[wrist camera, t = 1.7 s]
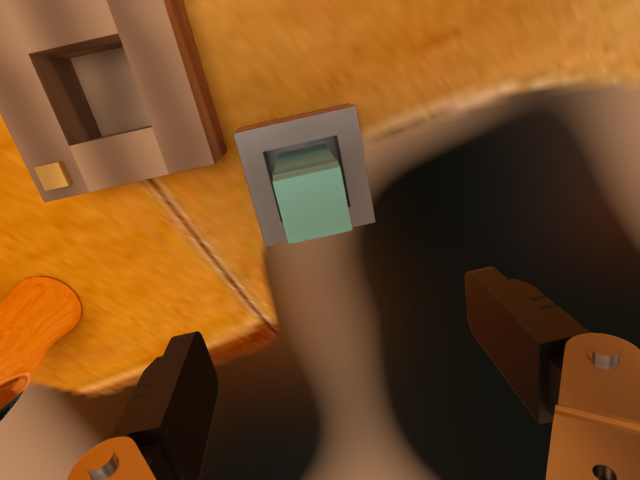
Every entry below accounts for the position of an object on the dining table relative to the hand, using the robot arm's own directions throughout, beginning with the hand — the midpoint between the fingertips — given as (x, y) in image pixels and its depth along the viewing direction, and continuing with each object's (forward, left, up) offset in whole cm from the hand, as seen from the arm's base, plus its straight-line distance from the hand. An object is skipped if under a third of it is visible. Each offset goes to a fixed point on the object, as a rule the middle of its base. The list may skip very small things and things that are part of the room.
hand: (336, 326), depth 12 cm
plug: (0, 0, -23) cm, 23 cm away
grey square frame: (0, 0, -24) cm, 24 cm away
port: (+12, -9, -24) cm, 28 cm away
